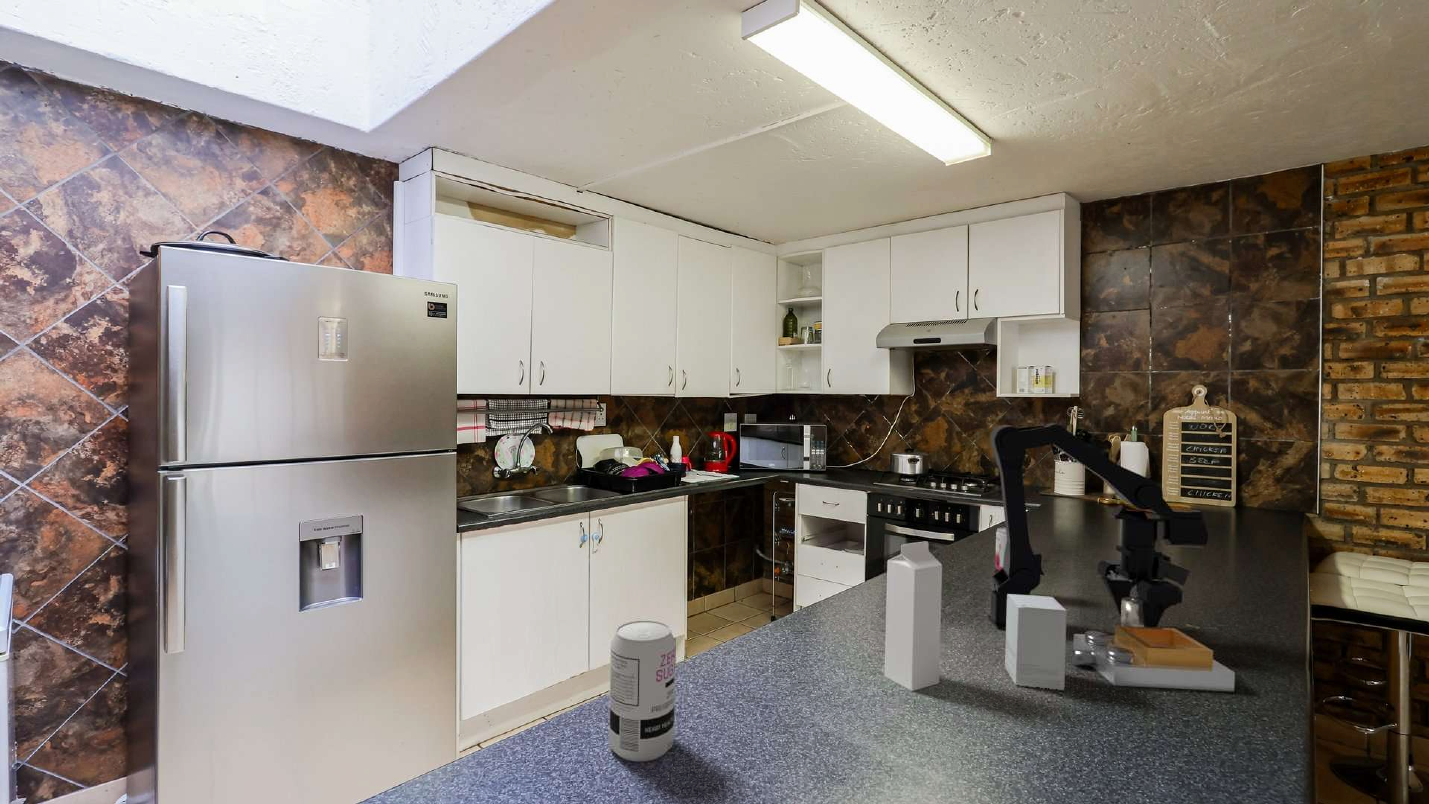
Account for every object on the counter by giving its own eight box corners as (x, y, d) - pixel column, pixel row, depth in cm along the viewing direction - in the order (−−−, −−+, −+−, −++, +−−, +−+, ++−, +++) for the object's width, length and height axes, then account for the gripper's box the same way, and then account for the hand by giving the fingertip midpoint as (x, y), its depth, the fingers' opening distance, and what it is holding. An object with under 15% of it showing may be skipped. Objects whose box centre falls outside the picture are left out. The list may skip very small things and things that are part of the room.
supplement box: (1065, 691, 103) (1068, 610, 102) (1014, 686, 104) (1016, 606, 104) (1051, 671, 110) (1053, 596, 110) (1003, 667, 111) (1006, 592, 111)
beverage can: (991, 597, 149) (993, 531, 149) (997, 590, 155) (999, 526, 154) (1023, 603, 145) (1025, 535, 145) (1028, 595, 151) (1030, 530, 151)
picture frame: (1094, 684, 105) (1095, 650, 105) (1056, 649, 119) (1057, 619, 119) (1234, 691, 104) (1235, 656, 104) (1178, 655, 118) (1179, 624, 118)
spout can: (1129, 642, 124) (1130, 601, 124) (1115, 632, 129) (1116, 593, 128) (1169, 644, 123) (1170, 603, 123) (1153, 634, 128) (1155, 595, 128)
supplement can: (611, 730, 88) (613, 619, 88) (673, 729, 89) (675, 618, 89) (606, 765, 80) (608, 642, 80) (674, 763, 81) (676, 641, 81)
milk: (939, 684, 105) (944, 545, 104) (911, 692, 102) (916, 549, 101) (910, 669, 110) (915, 537, 109) (883, 676, 107) (887, 540, 106)
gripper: (1217, 557, 116) (1213, 646, 116) (1154, 534, 134) (1151, 610, 135) (1150, 555, 117) (1147, 643, 117) (1097, 532, 135) (1094, 608, 135)
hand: (1135, 625), depth 126 cm, fingers open, 9 cm apart
